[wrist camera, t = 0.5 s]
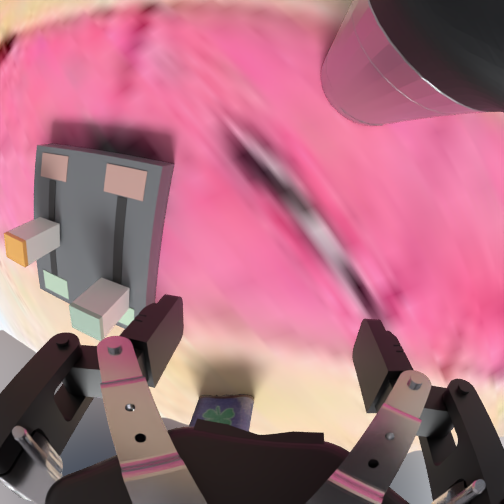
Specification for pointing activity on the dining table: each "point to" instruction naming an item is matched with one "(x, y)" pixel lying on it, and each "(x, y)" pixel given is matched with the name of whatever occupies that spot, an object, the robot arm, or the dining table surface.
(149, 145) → the dining table surface
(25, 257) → the block
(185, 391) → the dining table surface
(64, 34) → the dining table surface
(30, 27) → the dining table surface
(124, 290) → the block
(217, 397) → the flask
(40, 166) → the dual slider panel
